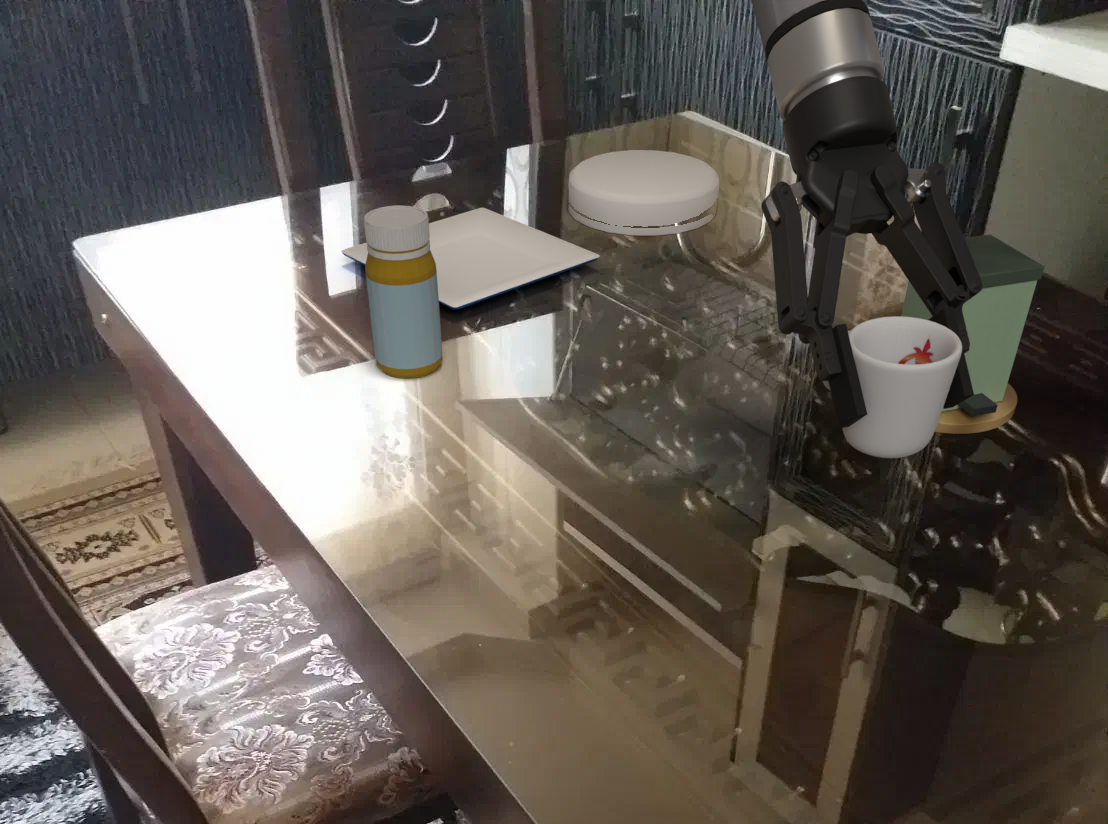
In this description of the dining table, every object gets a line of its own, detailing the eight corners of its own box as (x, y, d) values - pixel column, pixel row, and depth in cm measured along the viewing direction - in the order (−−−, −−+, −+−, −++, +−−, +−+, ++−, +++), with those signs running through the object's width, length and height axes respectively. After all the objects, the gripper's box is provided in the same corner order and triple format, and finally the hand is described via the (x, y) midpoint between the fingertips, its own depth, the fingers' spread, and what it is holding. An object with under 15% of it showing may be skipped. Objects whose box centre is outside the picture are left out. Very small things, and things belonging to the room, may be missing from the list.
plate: (341, 266, 140) (339, 249, 138) (483, 222, 151) (482, 205, 149) (455, 324, 128) (454, 305, 126) (601, 271, 138) (601, 253, 137)
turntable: (978, 363, 120) (981, 354, 119) (1039, 427, 110) (1042, 418, 109) (850, 373, 119) (852, 363, 118) (900, 439, 109) (902, 429, 108)
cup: (780, 427, 88) (792, 327, 83) (847, 392, 92) (863, 293, 86) (894, 482, 82) (915, 378, 77) (961, 442, 86) (986, 340, 80)
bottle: (454, 358, 122) (445, 209, 111) (422, 385, 117) (409, 233, 107) (397, 346, 124) (383, 199, 113) (363, 373, 119) (345, 223, 109)
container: (644, 248, 144) (646, 209, 141) (537, 207, 154) (536, 170, 151) (748, 209, 153) (752, 172, 150) (640, 174, 164) (642, 138, 161)
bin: (884, 377, 116) (912, 244, 107) (956, 365, 117) (990, 233, 108) (944, 426, 108) (979, 288, 99) (1020, 412, 110) (1061, 276, 101)
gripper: (929, 118, 88) (998, 406, 88) (681, 147, 83) (754, 452, 84) (988, 56, 81) (1063, 370, 81) (720, 84, 76) (800, 417, 76)
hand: (906, 411), depth 82 cm, fingers closed on cup, 8 cm apart
